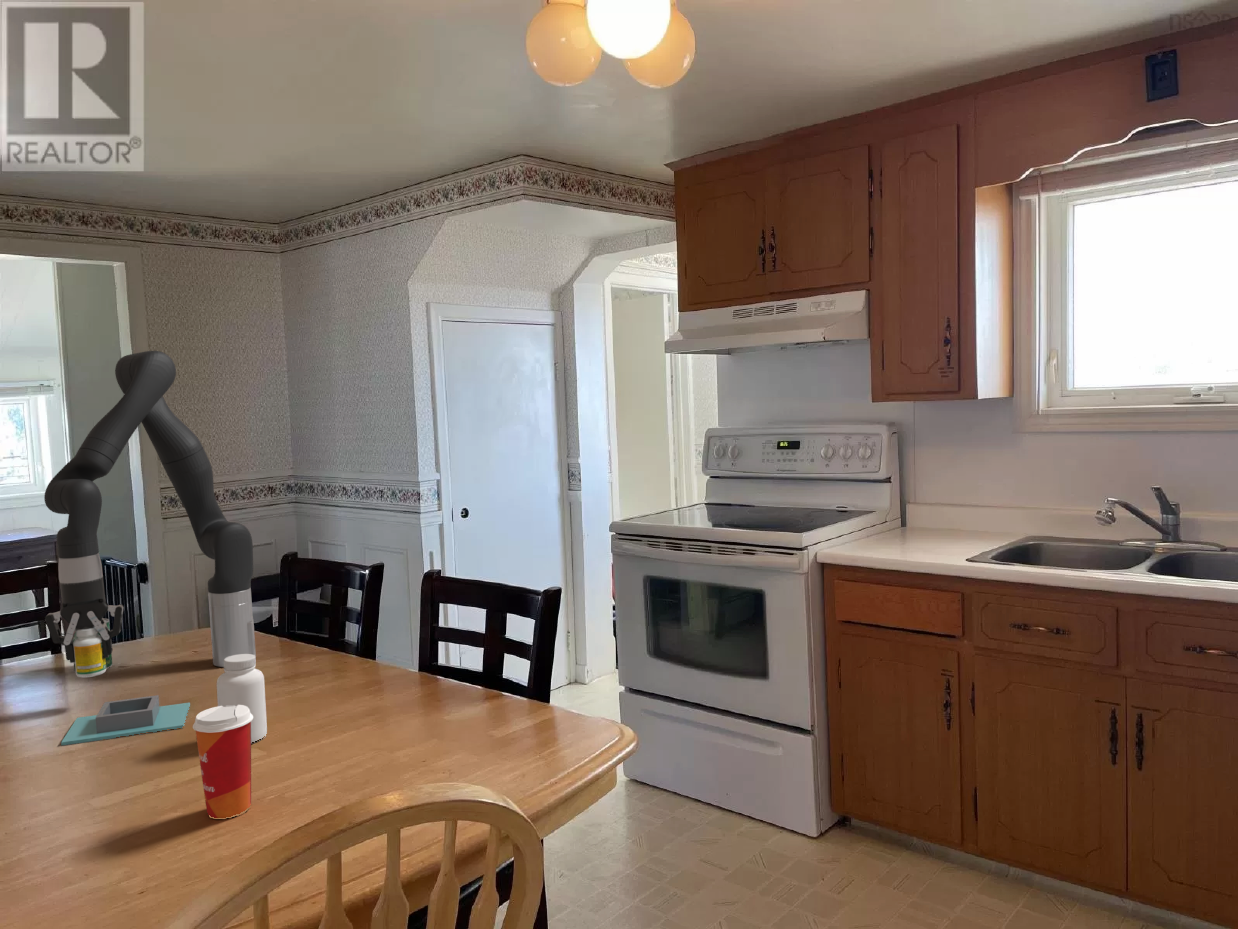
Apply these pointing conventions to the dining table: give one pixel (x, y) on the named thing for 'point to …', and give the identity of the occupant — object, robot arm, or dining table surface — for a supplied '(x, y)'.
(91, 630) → the supplement bottle
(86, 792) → the dining table surface
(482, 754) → the dining table surface
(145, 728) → the bottle stand
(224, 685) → the pill bottle
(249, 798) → the coffee cup
